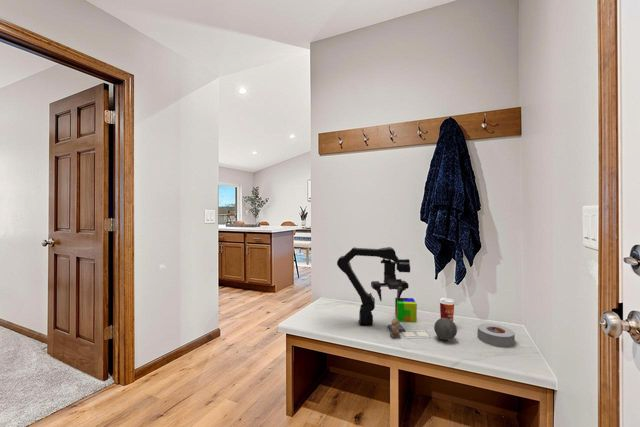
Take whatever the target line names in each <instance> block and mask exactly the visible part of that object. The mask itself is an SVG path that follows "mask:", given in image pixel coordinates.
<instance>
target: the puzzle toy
mask: <svg viewBox="0 0 640 427" xmlns="http://www.w3.org/2000/svg"><path fill="white" fill-rule="evenodd" d="M394 300H395V301H394V302H395V303H394V304H395V306H394V311H395V312H394V316H395V319H397V320H398V321H399V322H403V323H404V322H405V323H407V322H409V323H417V322H418V321H417V316H418V314H417V312H418V310H417V309H418V308H417V307H418V304H417V302H416V300H415V299H414V298H413V297H400V299H399V301H397V297H395V298H394Z"/></svg>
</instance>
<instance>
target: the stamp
mask: <svg viewBox="0 0 640 427" xmlns="http://www.w3.org/2000/svg"><path fill="white" fill-rule="evenodd" d="M391 324H392V332H391V331H390V332H389V336H390V338H392V340H398V339H399V340H400V339H401V337H402V336H401V333H399V324H400V321H398V320H397V318H392V320H391Z"/></svg>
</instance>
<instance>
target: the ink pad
mask: <svg viewBox="0 0 640 427" xmlns="http://www.w3.org/2000/svg"><path fill="white" fill-rule="evenodd" d="M387 329H388V330H389V331H390V332H392V323H391V324H387ZM405 331H406V329H405V328H404V326H403V325H402V324H401V323H399V334H402V333H401V332H405Z"/></svg>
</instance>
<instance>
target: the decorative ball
mask: <svg viewBox="0 0 640 427" xmlns="http://www.w3.org/2000/svg"><path fill="white" fill-rule="evenodd" d="M433 330H434V332H435V334H436V336H437V337H438V338H440V339H441V340H443V341H450V340H453V339H454V338H456V336H457V334H458V329H457V325H456V323H455V322H454V320H453V321H452V320H450V319H448V318H441V317H440V318H438V319H437V320H436V322H435V324H434V327H433Z"/></svg>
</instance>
